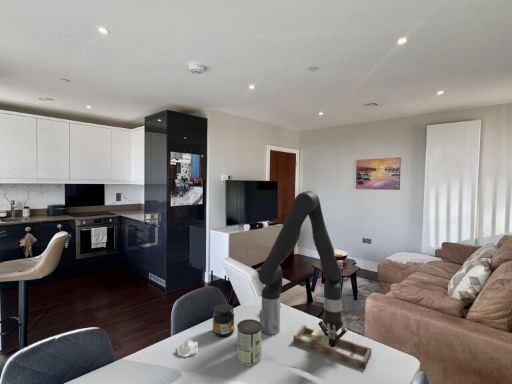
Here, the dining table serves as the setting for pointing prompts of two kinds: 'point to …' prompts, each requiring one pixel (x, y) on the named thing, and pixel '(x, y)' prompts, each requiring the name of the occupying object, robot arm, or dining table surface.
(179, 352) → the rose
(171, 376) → the dining table surface
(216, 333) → the supplement container
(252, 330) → the coffee can
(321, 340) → the oak block
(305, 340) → the track
